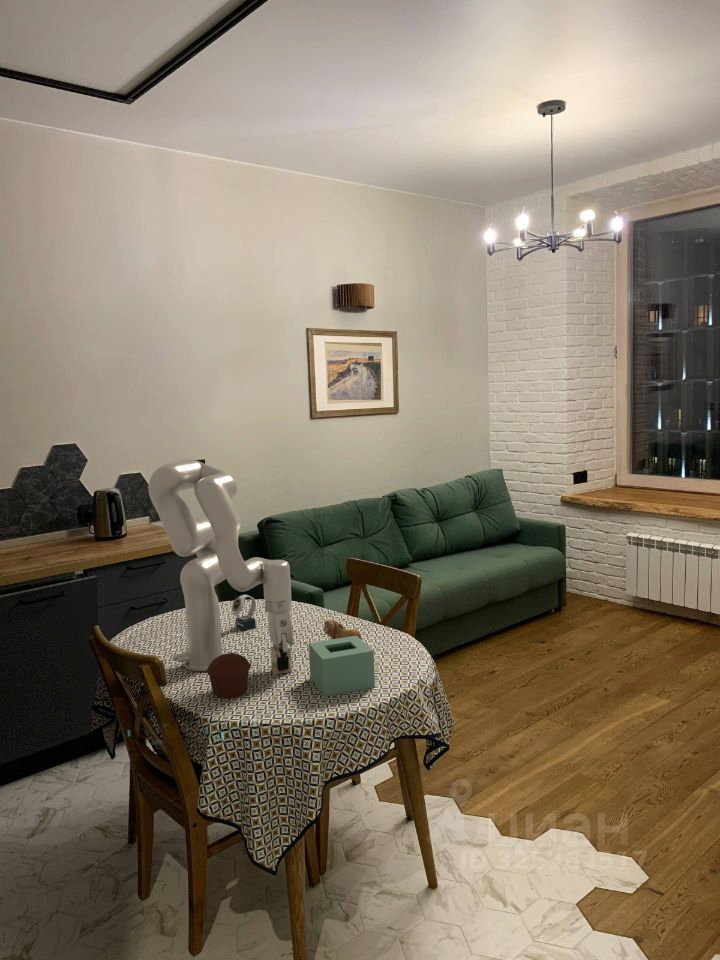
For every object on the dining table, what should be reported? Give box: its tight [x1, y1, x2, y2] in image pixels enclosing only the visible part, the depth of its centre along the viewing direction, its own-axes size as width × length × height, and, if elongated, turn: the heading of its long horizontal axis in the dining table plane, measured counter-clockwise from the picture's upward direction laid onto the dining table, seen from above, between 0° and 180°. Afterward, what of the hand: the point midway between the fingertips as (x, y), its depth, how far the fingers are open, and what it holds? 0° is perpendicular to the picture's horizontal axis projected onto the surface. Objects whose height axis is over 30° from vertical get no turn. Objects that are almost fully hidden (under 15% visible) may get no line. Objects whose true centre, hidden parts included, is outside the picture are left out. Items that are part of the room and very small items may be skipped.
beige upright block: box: [270, 643, 293, 675], centre depth 204 cm, size 5×4×7 cm
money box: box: [308, 636, 376, 697], centre depth 195 cm, size 14×13×10 cm
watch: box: [231, 594, 257, 632], centre depth 243 cm, size 6×8×11 cm
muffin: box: [205, 652, 252, 700], centre depth 191 cm, size 12×11×10 cm
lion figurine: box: [322, 618, 364, 642], centre depth 219 cm, size 15×5×9 cm, turn 68°
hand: (281, 666), depth 205 cm, fingers closed on beige upright block, 3 cm apart
